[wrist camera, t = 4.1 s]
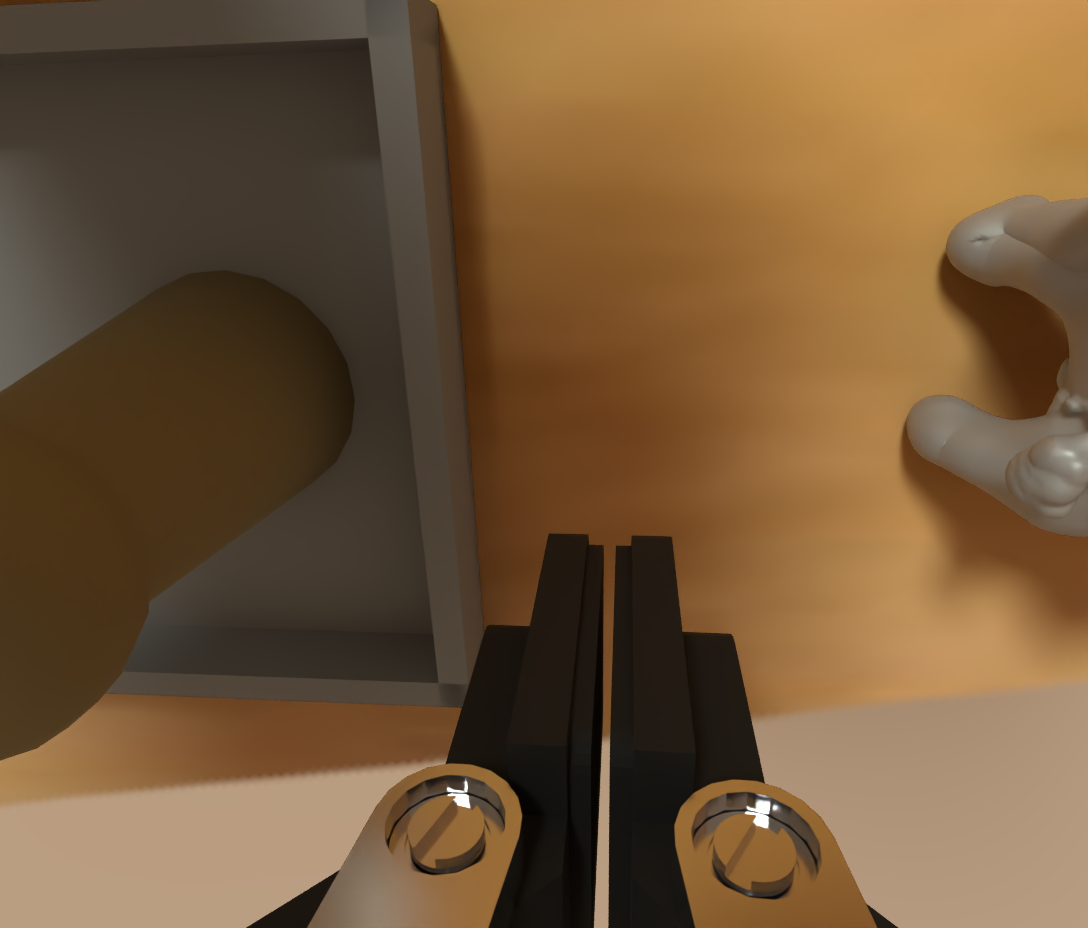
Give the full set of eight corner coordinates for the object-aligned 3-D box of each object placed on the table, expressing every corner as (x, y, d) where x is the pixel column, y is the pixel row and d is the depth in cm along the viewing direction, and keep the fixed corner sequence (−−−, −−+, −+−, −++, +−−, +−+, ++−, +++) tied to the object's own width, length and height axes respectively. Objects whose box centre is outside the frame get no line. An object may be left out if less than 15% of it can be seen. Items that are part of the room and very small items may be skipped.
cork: (86, 400, 20) (-455, 679, 10) (191, 215, 18) (-367, 330, 8) (279, 535, 21) (-27, 906, 11) (401, 377, 19) (156, 661, 9)
